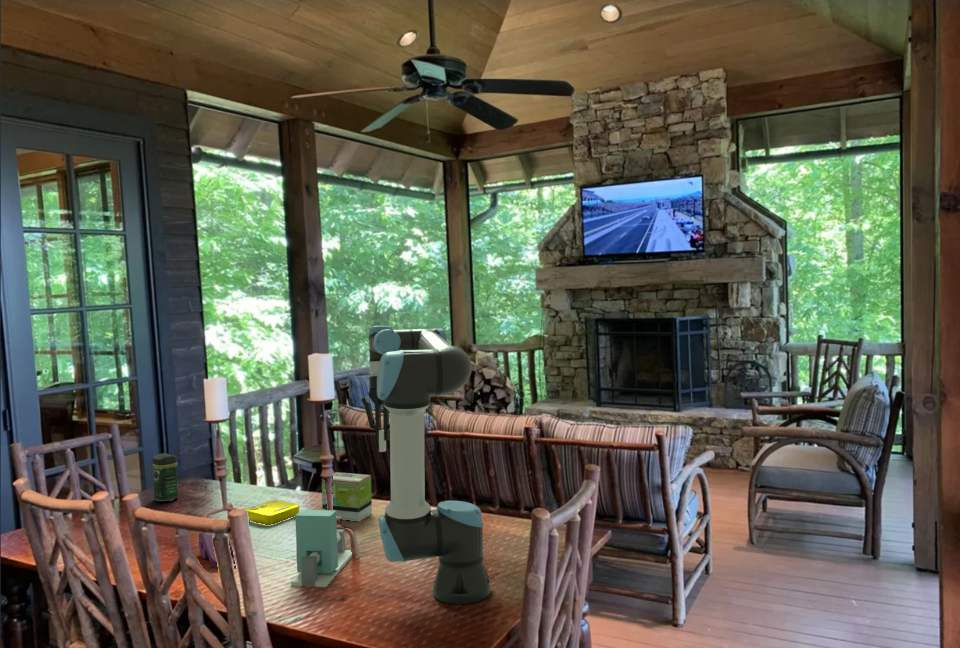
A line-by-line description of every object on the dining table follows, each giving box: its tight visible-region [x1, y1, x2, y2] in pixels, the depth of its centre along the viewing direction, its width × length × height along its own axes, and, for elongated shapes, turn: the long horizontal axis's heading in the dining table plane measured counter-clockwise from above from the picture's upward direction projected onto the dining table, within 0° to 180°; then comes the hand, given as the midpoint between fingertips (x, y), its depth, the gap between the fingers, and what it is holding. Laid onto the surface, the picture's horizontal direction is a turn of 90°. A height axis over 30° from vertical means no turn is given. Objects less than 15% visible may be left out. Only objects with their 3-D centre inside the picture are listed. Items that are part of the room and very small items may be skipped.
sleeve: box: [294, 509, 338, 573], centre depth 191 cm, size 5×10×16 cm, turn 82°
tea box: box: [321, 471, 373, 523], centre depth 244 cm, size 15×10×15 cm
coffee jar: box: [152, 452, 179, 500], centre depth 272 cm, size 10×8×19 cm
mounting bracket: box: [198, 533, 235, 568], centre depth 207 cm, size 10×8×18 cm
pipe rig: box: [290, 528, 353, 588], centre depth 196 cm, size 24×10×8 cm, turn 172°
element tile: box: [244, 499, 300, 525], centre depth 246 cm, size 15×15×5 cm
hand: (382, 451), depth 212 cm, fingers closed
